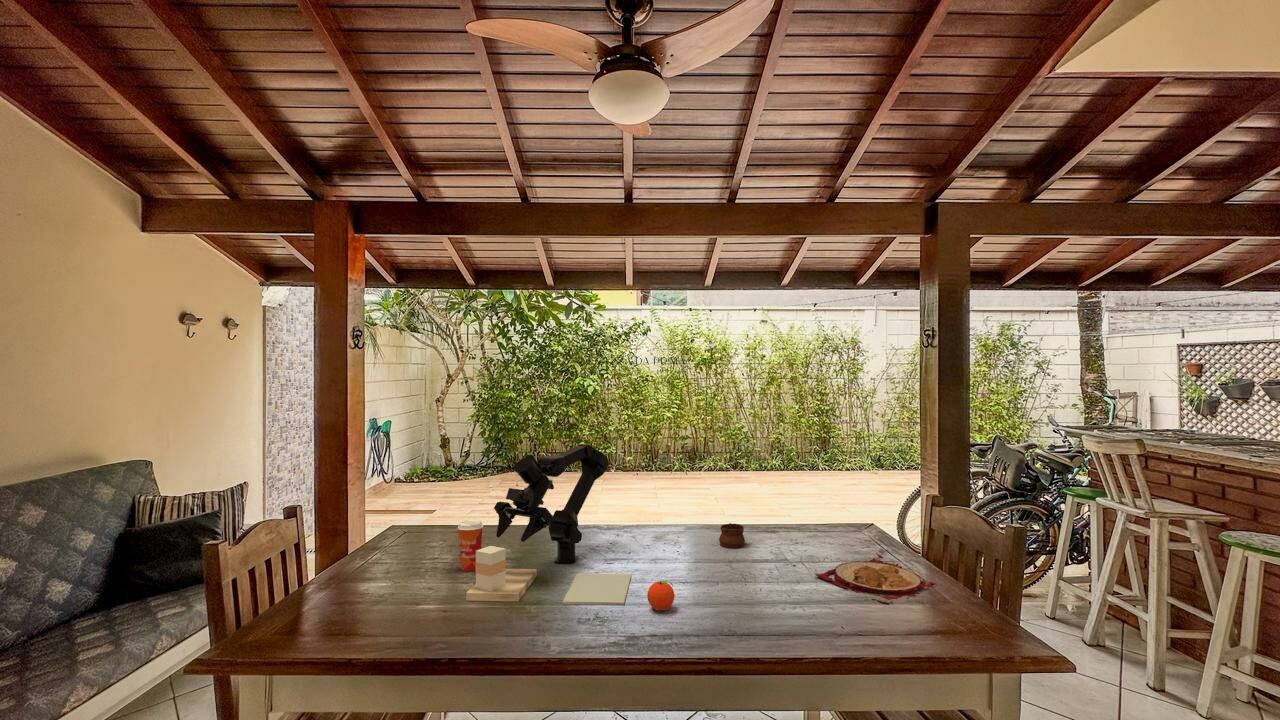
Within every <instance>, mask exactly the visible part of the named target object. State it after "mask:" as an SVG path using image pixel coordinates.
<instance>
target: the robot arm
mask: <svg viewBox="0 0 1280 720" xmlns="http://www.w3.org/2000/svg"><path fill="white" fill-rule="evenodd" d="M576 462H577V463H578V462H580V463H581V475H580V476H579V479H578V481H577V482H576V484H575V487H574V488H573V490H572V493H570V496H569V498H568V500H567V501H566V504H565V506H564V508H563V509H561V510H559V509H555V511H554V512H553V514H552V513H551V512H550V511H549V510H548V508H547V507H545V506H544V507H542V506H543V505H544V503H545V502H544V500H543V499H544V498H545V495H546V494H547V492H548V490H554V489H555V487H554V483H553V480H551V479H549V477H552V478H557V477H559V476H561V475H562V474H563V473H564V472H565V470H566V468H567V467H569V466H571V465H573V464H575V463H576ZM609 464H610V461H609V458H608V457H607V455H606V454H604V453H602V452H601V451H599V450H598V449H596V448H594V447H593V446H592V445H590V444H587V443H586V444H585V443H579V444H577V445H576V446H574V447H572V448H570V449H568V450H566V451H563V452H561V453H558V454H555V455H547V456H546V455H545V456H541V457H540V458H538V460H536V458H535V456H534V454H526V456H525V457H523V458H520V459H519V460H518V461H516V463H515V465H514V471H515V472H516V473H517V475H518V476H519V477H520V478H521V480H522V481H523V483H525V484H527V485H528V486H527V487H524V488H523V489H519V488H513V487H508V490H507V493H506V497H505V499H506V500H509V501H512V504H513V506H515V507H513V506H512V504H511V503H510V502H506V501H497V502H496V503H495V505H494V506H493V510H495V512H496V514H497V515H498V524H497V528H496V534H495V536H496V538H498V539H499V538H501V536H502V535H503V534H504V533H505V532H506V530H507V529H508V528H509V527H510V526H511V525H512V523H513V520H514V519H515V517H516V516H519V517H527V518H529V520H528V524H527V525H526V527H525V529H524V532H523V533H522V535H521V538H520V541H521V542H522V543H524V542H525V541H527V540H529V538H531V537H532V536H534V535H535V534H536V533H538V532H540V531H541V530H543V529H546V528H547V527H548V532H549V535H550V536H549V537H550V539H551V541H552V542H556V545H557V546H556V547H557V548H556V549H557V551H556V552H557V553H556V554H557V555H556V556H557V557H556V558H555V560H554V563H555V564H575V563H576V562H577V560H578V558H579V555H576V544H579V543H580V542H581V541H582V537H583V534H582V532H581V531H580V530H579V528H578V527H579V519H578V516H579V513H580V511H581V509H582V507H583V505H584V503H585V501H586V500H587V497H588V495H589V494H590V491H591V490H592V487H593V486H594V483H595V481H596V480H597V479H599V478H601V477H602V476H603V475H604V473H605V472H606V471H607V470H608V467H609Z"/></svg>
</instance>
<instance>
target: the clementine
mask: <svg viewBox="0 0 1280 720" xmlns="http://www.w3.org/2000/svg"><path fill="white" fill-rule="evenodd" d="M646 598H647V602H648V604H649V605H650V606H651V607H652V608H653V609H654V610H657V611H666V610H668V609H669V608H670V607H671V606H672V605H673V604H674V601H675V591H674V586H673V583H672V582H670V581H668V580H659V581H655V582H654V583H652V584H651V585H650V586H649V588H648V590H647V594H646Z"/></svg>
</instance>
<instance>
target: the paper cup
mask: <svg viewBox="0 0 1280 720" xmlns="http://www.w3.org/2000/svg"><path fill="white" fill-rule="evenodd" d="M483 528H484V524H483V523H482V520H477V519H469V520H464V521H461V522H459V523H458V526H457V530H458V540H459V556H460V557H459V558H460V569H461V571H462V572H463V571H464V572H473V571H476V551H477V550H480V549H482V541H483V538H482V537H483Z"/></svg>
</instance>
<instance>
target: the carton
mask: <svg viewBox="0 0 1280 720" xmlns="http://www.w3.org/2000/svg"><path fill="white" fill-rule="evenodd" d="M506 567H507V565H506V547H505V548H504V547H499V546H493V545H489V546H486V547H483V548H481V549H480V550H477V551H476V570H475V584H476V588H478V589H482V590H486V591H493V590H496V589H498V588H500V587H502V586H505V571H506V569H507V568H506Z"/></svg>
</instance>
